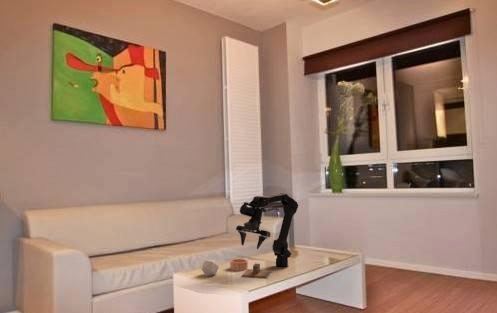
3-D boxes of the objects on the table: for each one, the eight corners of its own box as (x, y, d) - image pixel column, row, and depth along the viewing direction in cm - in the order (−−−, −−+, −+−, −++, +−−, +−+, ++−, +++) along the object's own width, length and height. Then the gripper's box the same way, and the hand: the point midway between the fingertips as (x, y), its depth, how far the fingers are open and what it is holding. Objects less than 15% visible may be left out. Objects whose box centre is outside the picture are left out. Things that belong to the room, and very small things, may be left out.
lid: (269, 272, 198) (269, 262, 199) (265, 278, 187) (265, 268, 187) (247, 271, 201) (247, 261, 201) (242, 276, 189) (242, 266, 190)
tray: (271, 273, 199) (271, 272, 199) (267, 280, 185) (267, 278, 186) (246, 271, 202) (246, 270, 202) (240, 278, 189) (240, 277, 189)
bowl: (249, 268, 210) (249, 259, 210) (245, 272, 200) (245, 263, 201) (232, 267, 212) (233, 258, 212) (228, 271, 203) (228, 262, 203)
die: (216, 273, 200) (205, 259, 201) (224, 268, 194) (213, 253, 195) (206, 282, 193) (195, 267, 194) (214, 277, 188) (203, 261, 189)
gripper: (234, 213, 199) (227, 242, 195) (265, 219, 190) (259, 249, 187) (243, 216, 209) (237, 244, 205) (273, 222, 200) (267, 251, 196)
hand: (249, 247), depth 198 cm, fingers open, 9 cm apart
